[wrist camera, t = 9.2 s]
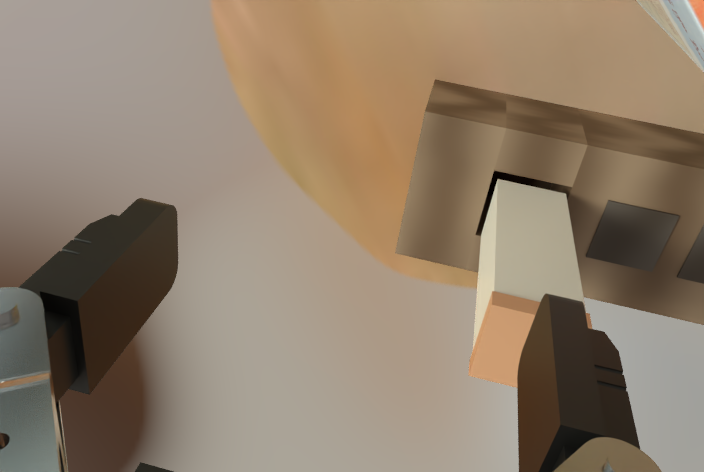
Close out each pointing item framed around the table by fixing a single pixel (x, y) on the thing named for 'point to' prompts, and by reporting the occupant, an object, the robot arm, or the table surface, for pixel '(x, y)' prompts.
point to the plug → (520, 274)
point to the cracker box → (681, 24)
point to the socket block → (566, 192)
